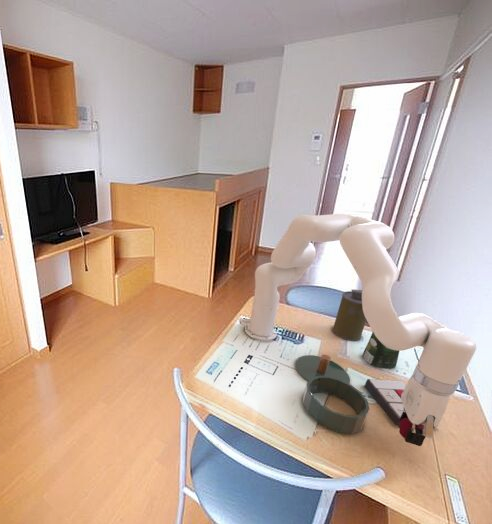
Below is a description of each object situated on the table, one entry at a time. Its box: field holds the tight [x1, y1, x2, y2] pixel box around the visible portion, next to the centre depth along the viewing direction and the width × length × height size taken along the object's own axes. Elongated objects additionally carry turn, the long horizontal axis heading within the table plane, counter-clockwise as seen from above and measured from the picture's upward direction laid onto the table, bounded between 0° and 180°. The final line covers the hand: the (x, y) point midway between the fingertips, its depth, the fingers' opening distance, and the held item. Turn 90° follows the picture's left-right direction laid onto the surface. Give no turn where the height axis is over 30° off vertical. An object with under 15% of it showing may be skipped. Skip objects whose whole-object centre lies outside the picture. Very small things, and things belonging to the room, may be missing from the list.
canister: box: [331, 289, 369, 342], centre depth 125 cm, size 11×10×20 cm
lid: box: [294, 354, 351, 384], centre depth 105 cm, size 17×17×7 cm
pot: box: [302, 376, 370, 435], centre depth 90 cm, size 16×16×6 cm
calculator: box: [364, 378, 424, 427], centre depth 92 cm, size 11×4×15 cm
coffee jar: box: [362, 331, 400, 369], centre depth 108 cm, size 10×8×19 cm
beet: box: [398, 418, 424, 439], centre depth 78 cm, size 5×5×6 cm
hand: (409, 433), depth 79 cm, fingers closed on beet, 5 cm apart
